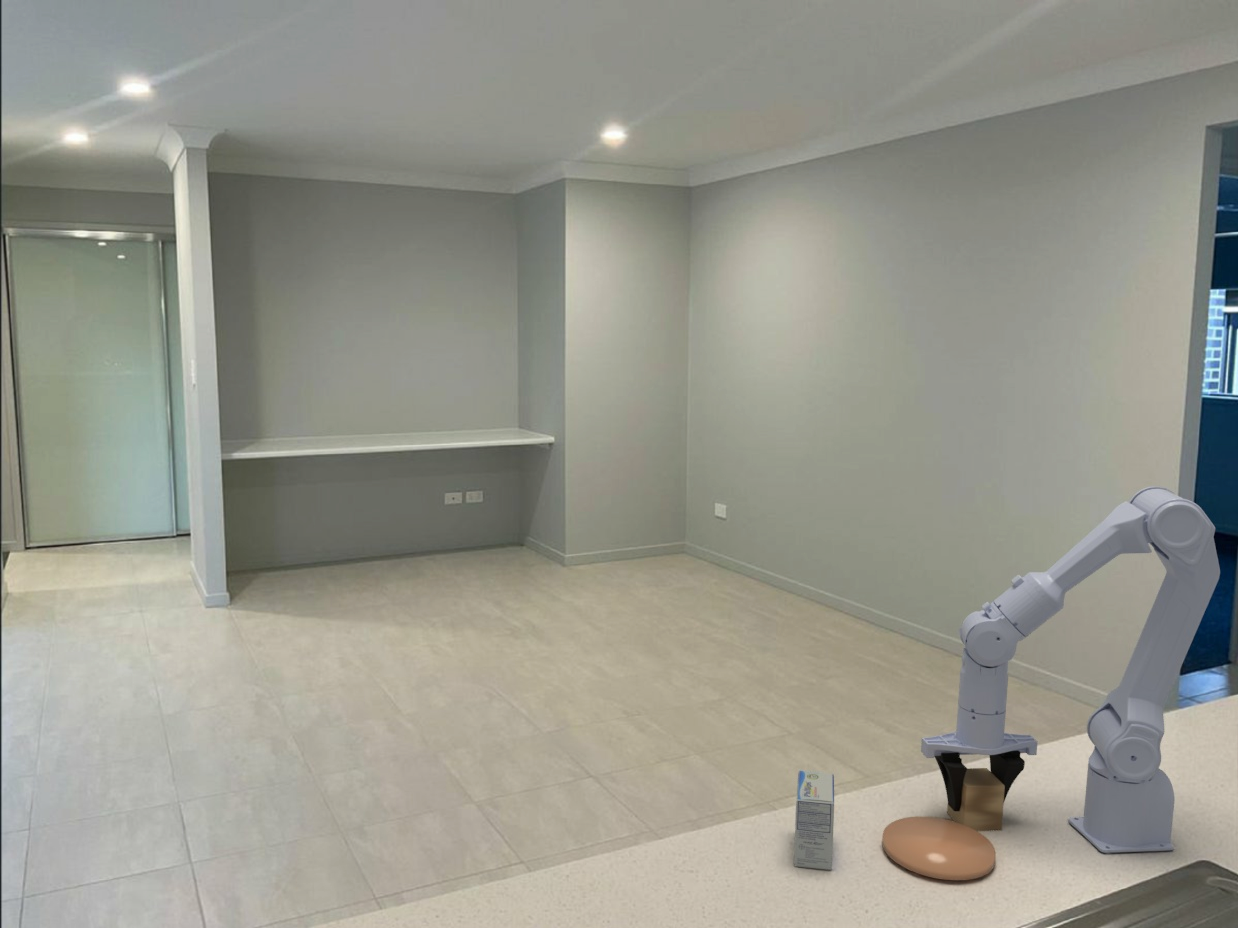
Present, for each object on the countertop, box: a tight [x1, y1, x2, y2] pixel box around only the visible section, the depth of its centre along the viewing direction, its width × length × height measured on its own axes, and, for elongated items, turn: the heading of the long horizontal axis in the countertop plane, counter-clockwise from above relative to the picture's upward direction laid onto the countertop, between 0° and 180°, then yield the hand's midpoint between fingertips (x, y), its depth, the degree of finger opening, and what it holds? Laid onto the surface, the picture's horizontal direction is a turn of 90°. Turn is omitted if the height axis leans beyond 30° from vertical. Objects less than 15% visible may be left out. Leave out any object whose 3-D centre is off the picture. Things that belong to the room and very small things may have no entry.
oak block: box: [946, 767, 1005, 832], centre depth 128 cm, size 5×5×6 cm
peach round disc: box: [881, 816, 997, 881], centre depth 120 cm, size 13×13×1 cm
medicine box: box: [794, 770, 835, 871], centre depth 120 cm, size 8×4×9 cm, turn 168°
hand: (974, 806), depth 128 cm, fingers closed on oak block, 5 cm apart
